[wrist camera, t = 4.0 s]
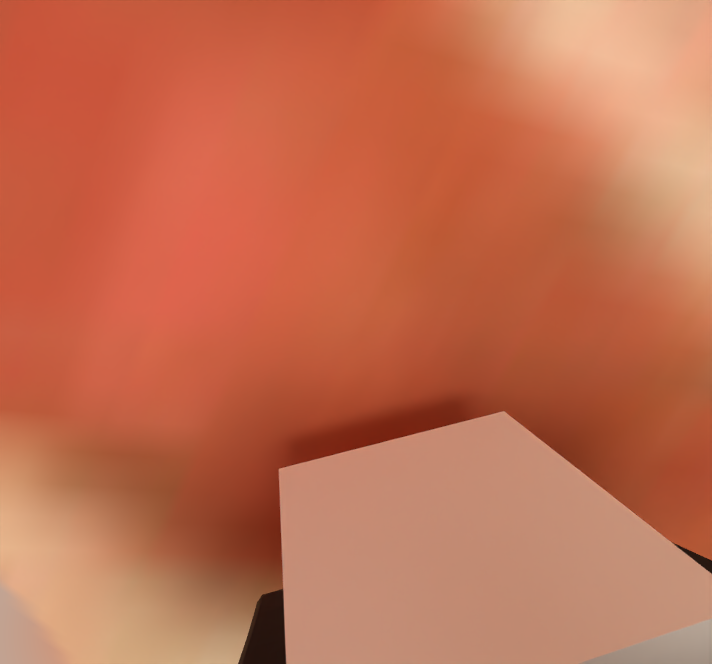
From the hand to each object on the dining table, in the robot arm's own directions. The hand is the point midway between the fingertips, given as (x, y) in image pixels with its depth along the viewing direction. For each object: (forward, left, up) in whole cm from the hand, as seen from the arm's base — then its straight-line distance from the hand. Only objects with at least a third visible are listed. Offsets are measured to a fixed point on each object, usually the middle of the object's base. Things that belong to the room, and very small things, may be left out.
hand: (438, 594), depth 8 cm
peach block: (0, 0, -2) cm, 2 cm away
